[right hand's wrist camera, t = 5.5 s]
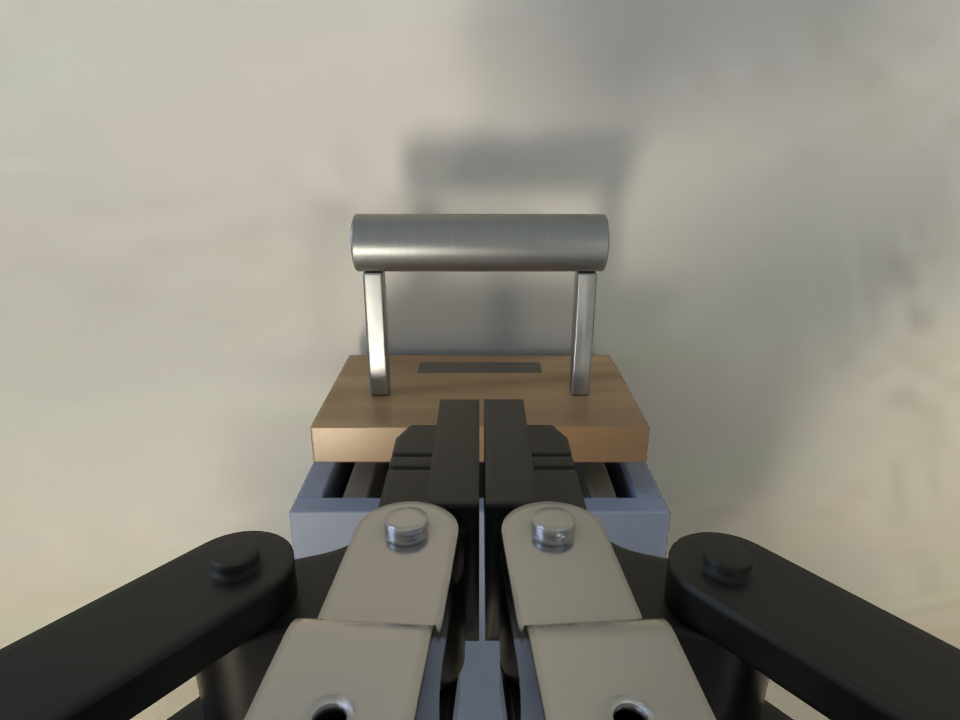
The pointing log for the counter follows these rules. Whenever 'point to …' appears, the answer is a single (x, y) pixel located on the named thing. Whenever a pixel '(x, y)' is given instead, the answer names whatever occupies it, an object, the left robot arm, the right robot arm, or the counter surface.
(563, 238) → the drawer
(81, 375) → the counter surface
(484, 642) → the cabinet
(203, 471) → the counter surface
